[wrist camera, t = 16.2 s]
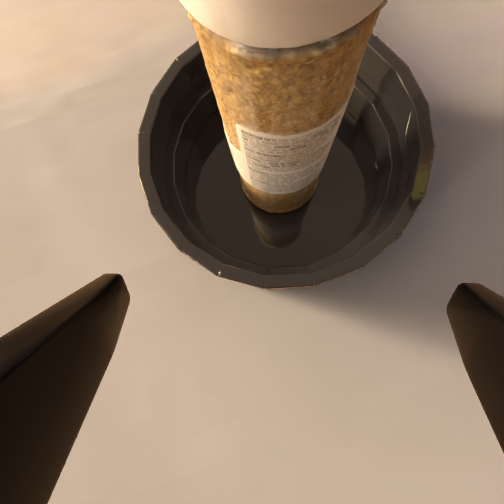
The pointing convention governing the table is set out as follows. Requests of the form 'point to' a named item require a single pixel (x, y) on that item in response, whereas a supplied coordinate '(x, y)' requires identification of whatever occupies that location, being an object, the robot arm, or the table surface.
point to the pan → (322, 201)
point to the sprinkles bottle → (282, 85)
